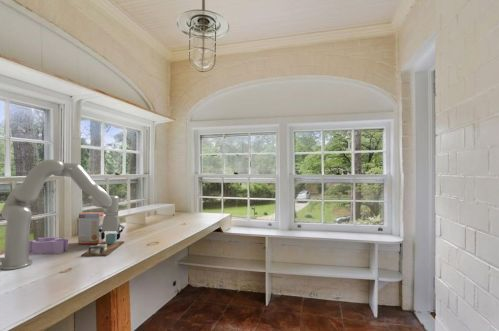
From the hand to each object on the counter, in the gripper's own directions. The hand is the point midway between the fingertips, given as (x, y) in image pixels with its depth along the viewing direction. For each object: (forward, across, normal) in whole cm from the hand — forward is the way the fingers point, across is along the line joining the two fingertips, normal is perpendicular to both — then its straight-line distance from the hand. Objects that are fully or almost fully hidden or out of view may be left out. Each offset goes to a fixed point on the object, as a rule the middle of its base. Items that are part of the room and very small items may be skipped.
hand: (110, 239), depth 177 cm
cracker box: (+4, -14, +4) cm, 15 cm away
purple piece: (+5, -31, -12) cm, 34 cm away
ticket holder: (+4, 0, -9) cm, 10 cm away
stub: (+3, 0, 0) cm, 3 cm away
